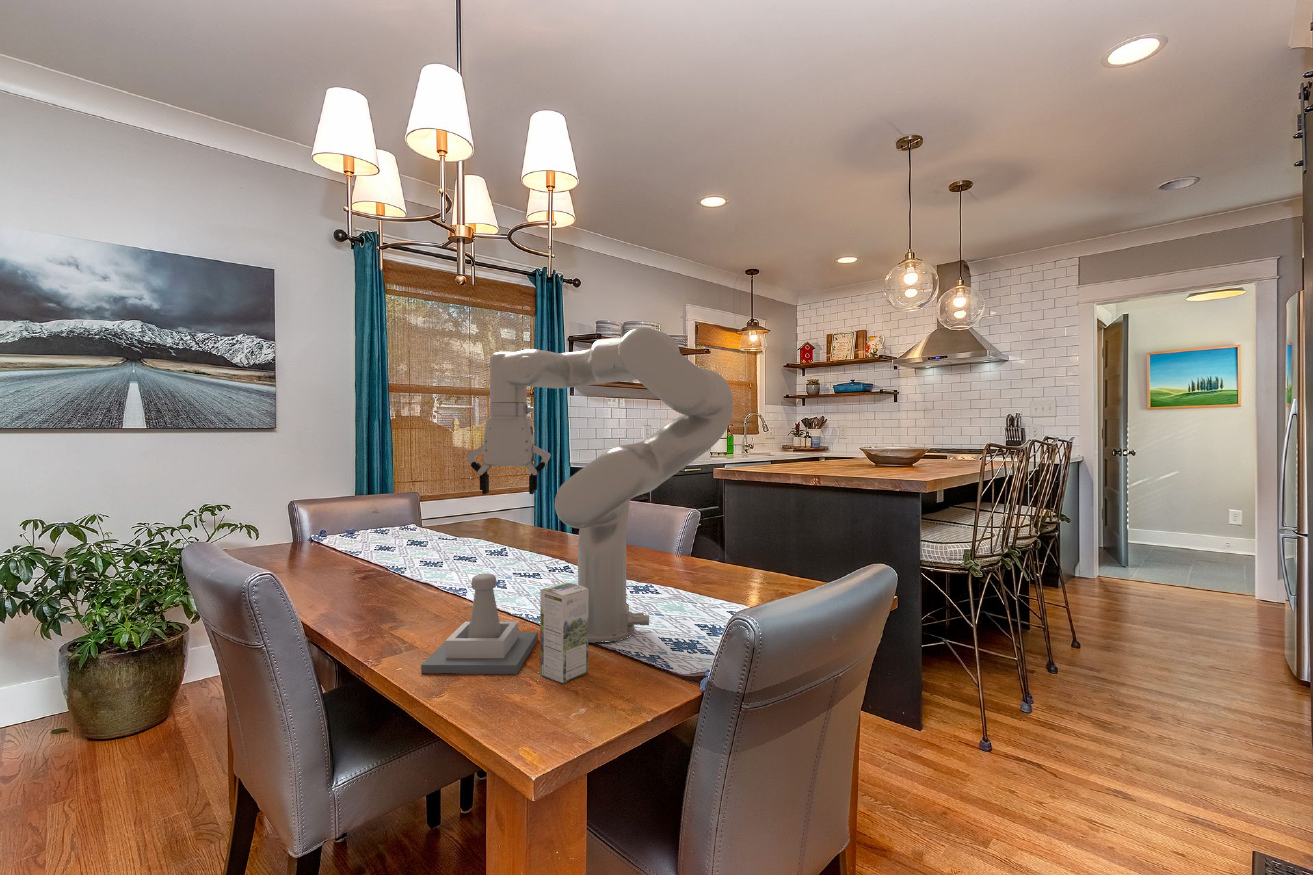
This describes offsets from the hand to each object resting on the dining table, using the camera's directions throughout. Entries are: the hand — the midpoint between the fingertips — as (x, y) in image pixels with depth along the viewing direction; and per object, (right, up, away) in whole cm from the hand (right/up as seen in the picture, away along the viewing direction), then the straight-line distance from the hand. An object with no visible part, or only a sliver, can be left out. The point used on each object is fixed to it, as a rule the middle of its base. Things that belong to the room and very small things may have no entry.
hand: (508, 493), depth 128 cm
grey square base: (0, -27, -19) cm, 33 cm away
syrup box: (+16, -28, -27) cm, 42 cm away
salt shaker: (0, -26, -19) cm, 32 cm away
